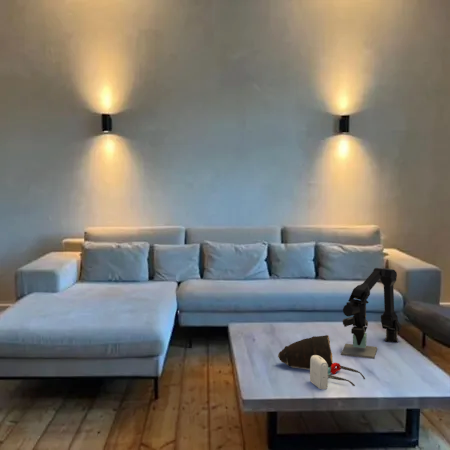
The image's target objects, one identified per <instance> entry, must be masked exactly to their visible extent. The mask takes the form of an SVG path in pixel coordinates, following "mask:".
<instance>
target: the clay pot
mask: <svg viewBox="0 0 450 450" xmlns="http://www.w3.org/2000/svg"><path fill="white" fill-rule="evenodd" d="M331 348H332V347H331V340H330V336H329V334H328V335H327V334H325V335H319V336H318V335H317V336H316V335H314V336H312V337H307V338H302V339H300V340H297V341H295V342H294V341H293V342H292V343H291V344H289V345H285V346H284V348H283V349H282V350H281V351H279V352H278V354H277V358H278V359H279V360H280V361H281V363H284V364H286V366H288V367H290V368H292V369H301V370H307V371H310V359H311V357H312V356H313V355H318V356H320V357H322V358H323V359H324V360H325V361H326V362H327V364H328V367H329V368H330V367H331V365H332V364H333V363H334V361H333V353H332V352H333V351H332V349H331Z"/></svg>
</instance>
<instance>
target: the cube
mask: <svg viewBox="0 0 450 450" xmlns="http://www.w3.org/2000/svg"><path fill="white" fill-rule="evenodd" d="M352 344H353V347H359V348H365V347H366V346H367V332H365V334H364V337H363V339H362V342H361V344H360V345H358V344H357V340H356V336H355V335H354V334H352Z"/></svg>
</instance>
